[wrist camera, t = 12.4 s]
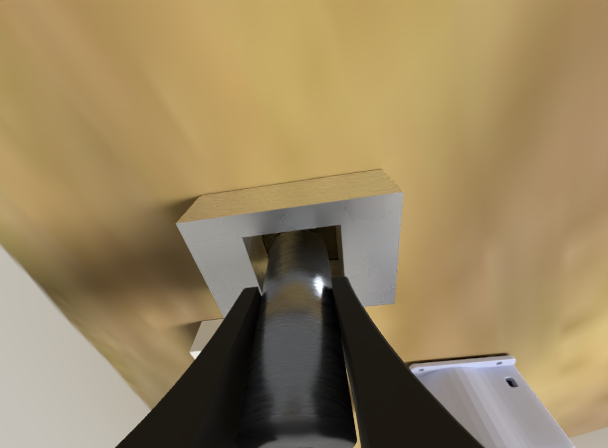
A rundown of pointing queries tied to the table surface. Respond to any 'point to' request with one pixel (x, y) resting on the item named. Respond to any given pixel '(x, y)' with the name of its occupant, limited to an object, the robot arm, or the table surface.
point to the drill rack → (297, 216)
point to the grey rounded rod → (297, 355)
